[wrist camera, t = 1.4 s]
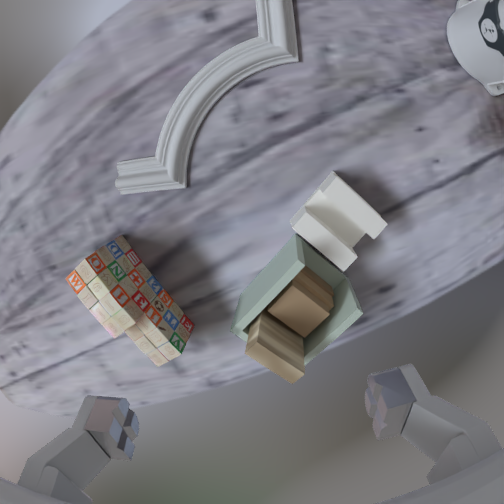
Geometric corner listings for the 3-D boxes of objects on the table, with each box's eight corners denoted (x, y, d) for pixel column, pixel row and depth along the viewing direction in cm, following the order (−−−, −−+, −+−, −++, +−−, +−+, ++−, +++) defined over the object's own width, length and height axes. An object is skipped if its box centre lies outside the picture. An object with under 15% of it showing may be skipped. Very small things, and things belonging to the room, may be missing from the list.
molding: (272, -12, 36) (271, -20, 33) (332, 30, 38) (335, 24, 35) (109, 179, 49) (100, 181, 47) (159, 224, 51) (152, 228, 48)
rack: (295, 233, 49) (297, 259, 38) (349, 278, 50) (363, 313, 40) (240, 294, 53) (230, 331, 43) (293, 333, 55) (294, 374, 45)
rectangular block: (264, 287, 51) (256, 342, 37) (301, 315, 52) (304, 373, 38) (255, 297, 52) (244, 353, 38) (291, 324, 53) (292, 383, 39)
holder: (332, 171, 45) (338, 174, 40) (378, 213, 46) (389, 222, 41) (289, 220, 48) (290, 229, 43) (336, 259, 50) (342, 273, 44)
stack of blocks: (196, 324, 57) (176, 366, 45) (172, 338, 58) (151, 379, 47) (121, 233, 52) (83, 258, 41) (101, 252, 54) (63, 279, 42)
